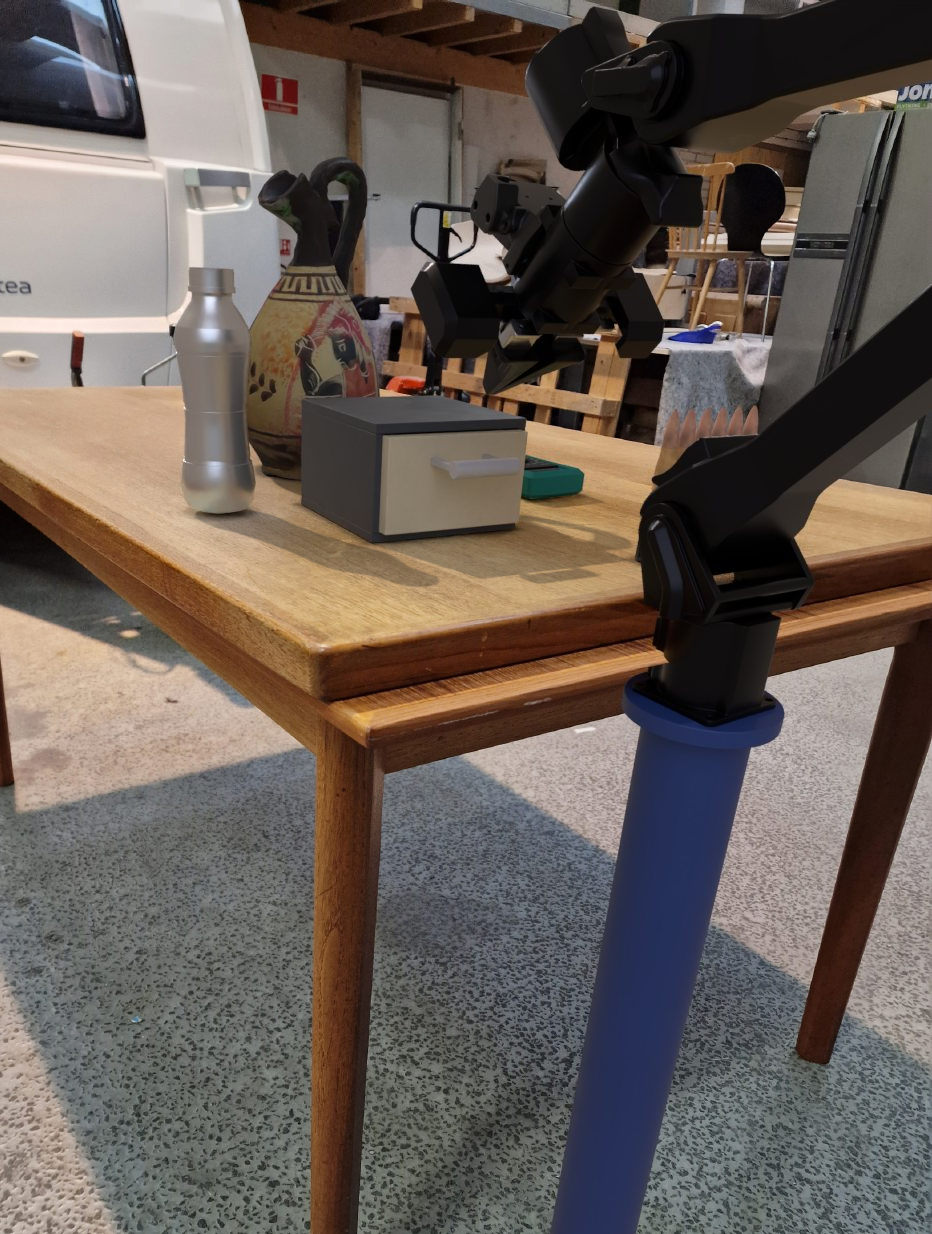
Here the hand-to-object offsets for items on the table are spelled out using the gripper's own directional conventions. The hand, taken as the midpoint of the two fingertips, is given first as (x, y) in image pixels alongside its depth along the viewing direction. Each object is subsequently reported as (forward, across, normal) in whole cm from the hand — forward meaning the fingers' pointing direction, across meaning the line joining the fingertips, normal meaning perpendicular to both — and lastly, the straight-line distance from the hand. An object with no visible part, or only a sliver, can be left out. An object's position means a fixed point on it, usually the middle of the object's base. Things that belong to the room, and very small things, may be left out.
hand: (488, 389), depth 75 cm
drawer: (+14, 0, +3) cm, 14 cm away
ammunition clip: (+3, -16, +15) cm, 22 cm away
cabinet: (+17, 0, +1) cm, 17 cm away
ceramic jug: (+32, 0, -14) cm, 35 cm away
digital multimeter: (+24, -18, -5) cm, 30 cm away
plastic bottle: (+22, +16, -4) cm, 27 cm away
